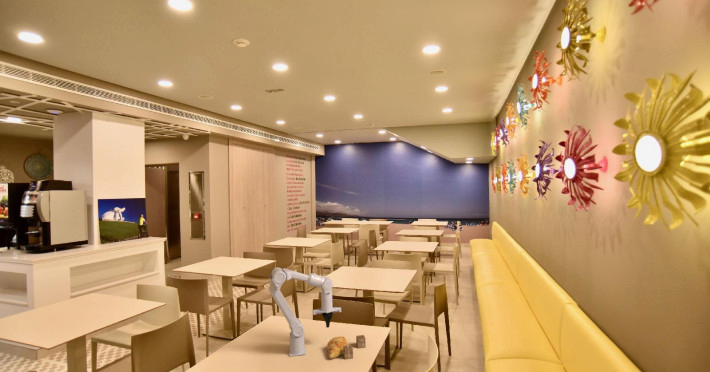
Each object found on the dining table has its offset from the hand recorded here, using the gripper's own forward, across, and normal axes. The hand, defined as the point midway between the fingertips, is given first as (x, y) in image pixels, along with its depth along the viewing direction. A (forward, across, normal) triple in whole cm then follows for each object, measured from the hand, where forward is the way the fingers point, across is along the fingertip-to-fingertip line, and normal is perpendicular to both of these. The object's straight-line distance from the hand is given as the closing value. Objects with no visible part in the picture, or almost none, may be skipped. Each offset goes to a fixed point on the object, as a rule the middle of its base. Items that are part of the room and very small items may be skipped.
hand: (327, 326), depth 191 cm
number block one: (+10, +8, -14) cm, 19 cm away
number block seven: (+10, +16, -4) cm, 20 cm away
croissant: (+11, +4, -6) cm, 13 cm away
